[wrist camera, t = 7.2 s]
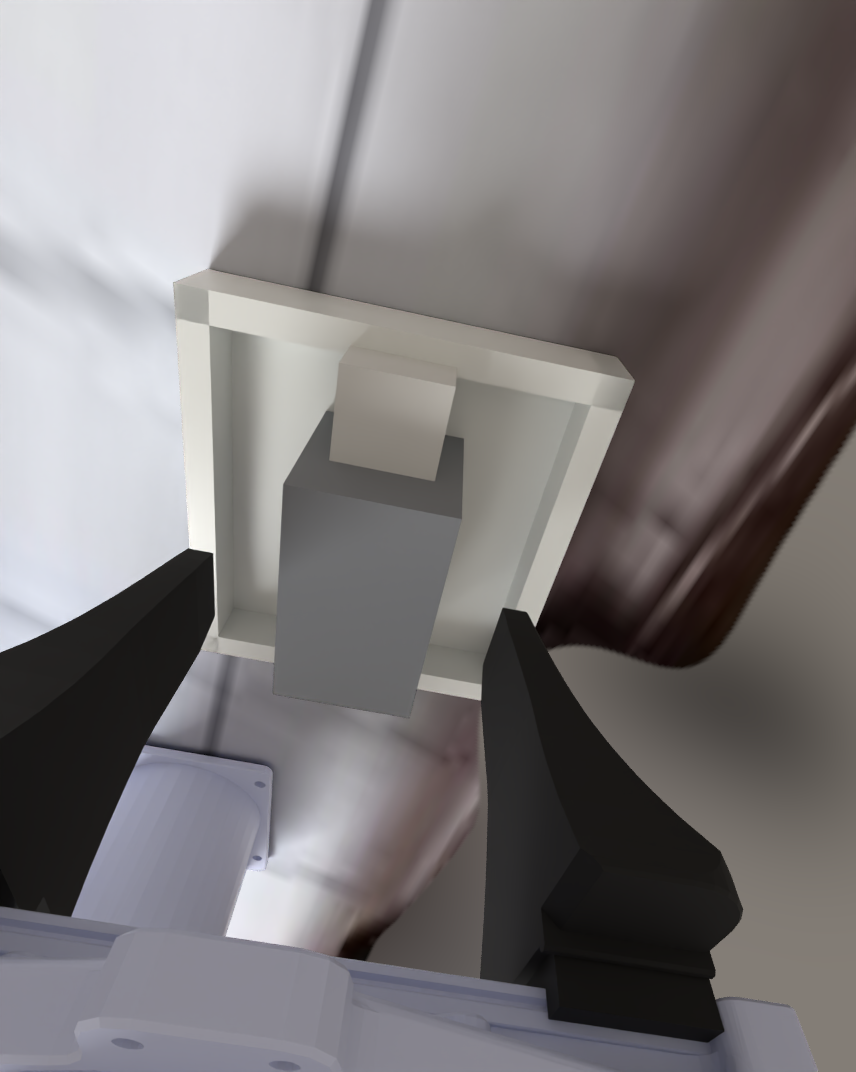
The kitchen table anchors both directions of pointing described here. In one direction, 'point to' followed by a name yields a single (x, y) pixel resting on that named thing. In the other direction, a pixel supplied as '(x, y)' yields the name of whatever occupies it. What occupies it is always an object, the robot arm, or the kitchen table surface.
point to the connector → (369, 536)
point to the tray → (309, 391)
